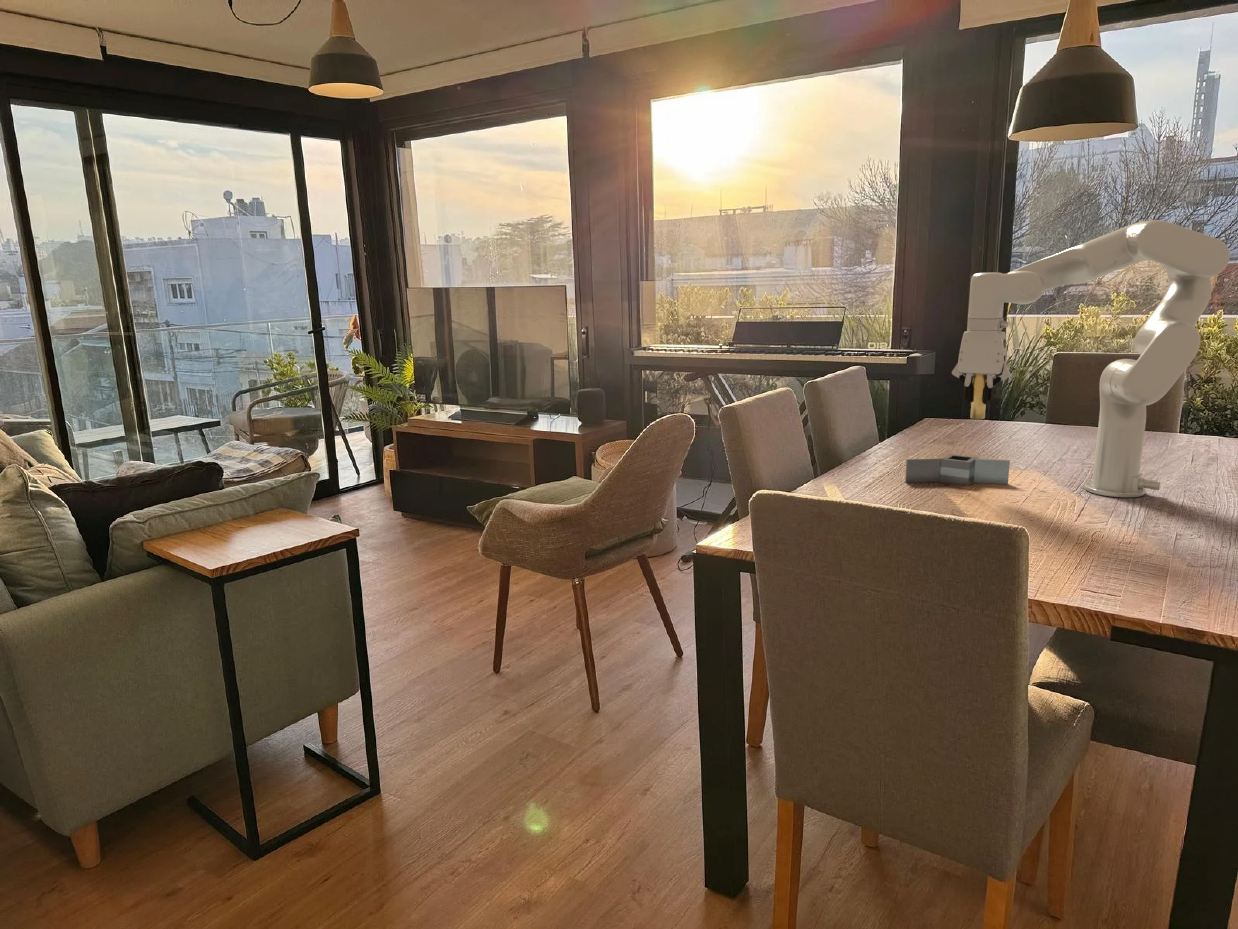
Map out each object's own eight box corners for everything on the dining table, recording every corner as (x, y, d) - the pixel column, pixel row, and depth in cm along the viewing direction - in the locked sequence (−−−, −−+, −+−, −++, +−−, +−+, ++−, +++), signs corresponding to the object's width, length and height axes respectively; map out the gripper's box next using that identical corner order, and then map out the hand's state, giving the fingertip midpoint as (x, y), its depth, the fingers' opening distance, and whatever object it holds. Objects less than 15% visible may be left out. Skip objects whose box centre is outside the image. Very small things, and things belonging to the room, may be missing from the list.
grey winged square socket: (1008, 483, 210) (1010, 460, 209) (993, 494, 200) (995, 470, 199) (922, 472, 223) (923, 450, 222) (904, 482, 213) (905, 459, 212)
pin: (986, 417, 203) (990, 367, 201) (982, 419, 201) (986, 369, 198) (972, 416, 205) (976, 367, 202) (968, 418, 203) (972, 368, 200)
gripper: (1025, 325, 196) (1019, 403, 200) (953, 324, 206) (948, 398, 210) (1018, 327, 190) (1011, 408, 194) (943, 326, 200) (938, 402, 204)
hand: (978, 402), depth 202 cm, fingers closed on pin, 3 cm apart
